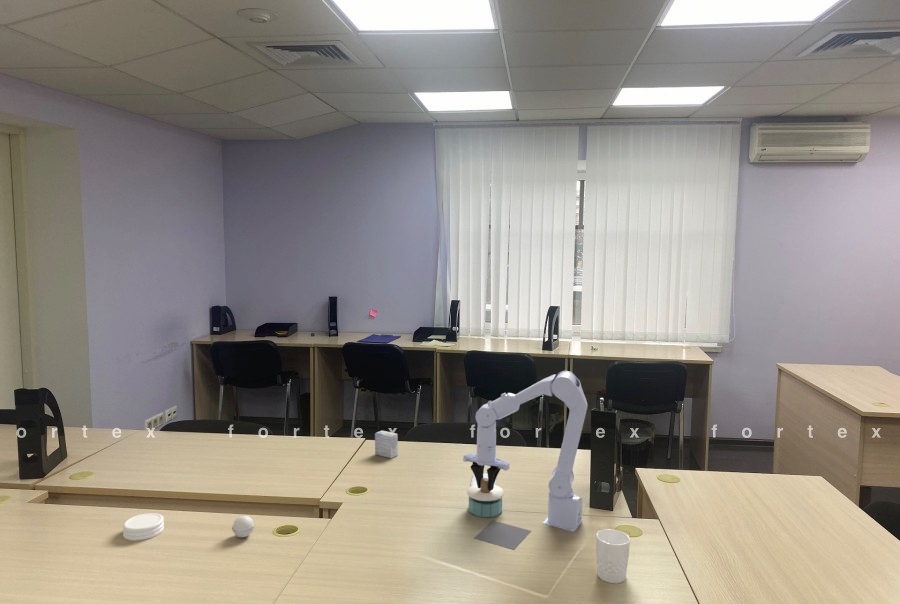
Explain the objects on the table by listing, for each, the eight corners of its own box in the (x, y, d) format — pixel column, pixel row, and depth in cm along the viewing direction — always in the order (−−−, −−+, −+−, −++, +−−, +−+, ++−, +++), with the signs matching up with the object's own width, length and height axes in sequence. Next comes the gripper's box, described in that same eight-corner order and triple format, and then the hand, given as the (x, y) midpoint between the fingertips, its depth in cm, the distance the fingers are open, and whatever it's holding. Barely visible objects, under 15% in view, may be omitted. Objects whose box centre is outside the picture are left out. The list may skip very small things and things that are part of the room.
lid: (509, 490, 175) (509, 477, 175) (494, 504, 166) (494, 489, 165) (476, 483, 181) (476, 470, 180) (460, 496, 171) (460, 482, 171)
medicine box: (398, 455, 220) (398, 433, 220) (390, 459, 217) (390, 436, 216) (382, 451, 225) (382, 430, 224) (374, 454, 221) (374, 432, 220)
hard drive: (473, 472, 202) (470, 486, 190) (496, 473, 201) (495, 487, 189) (473, 476, 202) (470, 491, 190) (496, 478, 201) (495, 492, 189)
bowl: (507, 509, 176) (507, 495, 175) (492, 522, 167) (493, 508, 167) (478, 502, 181) (478, 488, 180) (462, 514, 172) (462, 500, 172)
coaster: (165, 521, 165) (165, 510, 165) (162, 538, 156) (161, 525, 156) (126, 527, 161) (125, 515, 161) (120, 544, 152) (119, 531, 152)
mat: (531, 532, 161) (531, 530, 161) (514, 551, 151) (514, 549, 151) (492, 522, 167) (492, 520, 167) (473, 539, 157) (473, 537, 157)
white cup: (622, 567, 144) (623, 528, 143) (633, 585, 136) (634, 544, 135) (591, 567, 144) (592, 528, 143) (600, 585, 136) (601, 545, 135)
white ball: (232, 533, 159) (231, 513, 158) (253, 530, 161) (253, 510, 160) (232, 546, 151) (231, 526, 151) (255, 543, 153) (254, 522, 153)
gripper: (458, 444, 172) (458, 487, 173) (502, 453, 165) (501, 498, 166) (469, 437, 178) (469, 479, 179) (512, 446, 171) (511, 490, 172)
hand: (485, 488), depth 173 cm, fingers closed on lid, 3 cm apart
